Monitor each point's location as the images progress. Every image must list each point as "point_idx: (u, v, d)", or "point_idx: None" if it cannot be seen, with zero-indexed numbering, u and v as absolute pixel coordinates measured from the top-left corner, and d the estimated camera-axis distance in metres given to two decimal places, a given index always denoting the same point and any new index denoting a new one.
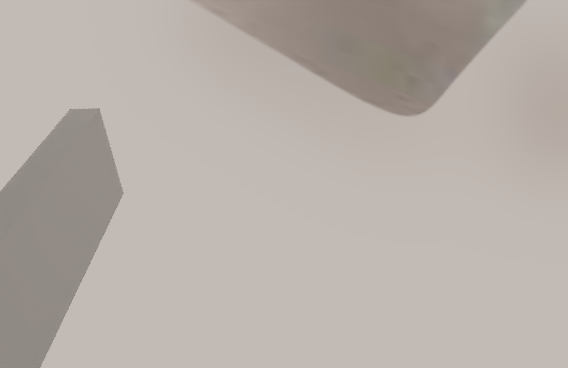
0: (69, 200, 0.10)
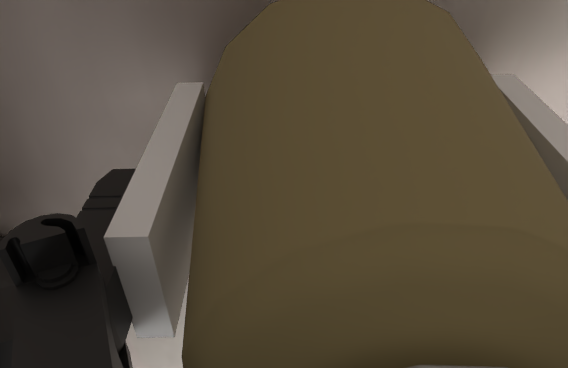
0: (192, 160, 0.11)
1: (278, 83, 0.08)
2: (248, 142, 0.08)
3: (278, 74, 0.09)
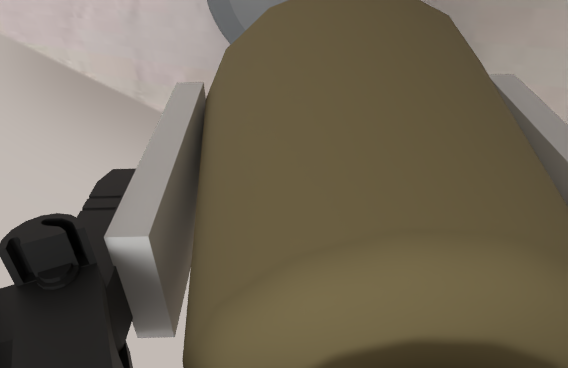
0: (192, 160, 0.11)
1: (278, 86, 0.08)
2: (249, 146, 0.08)
3: (278, 78, 0.09)
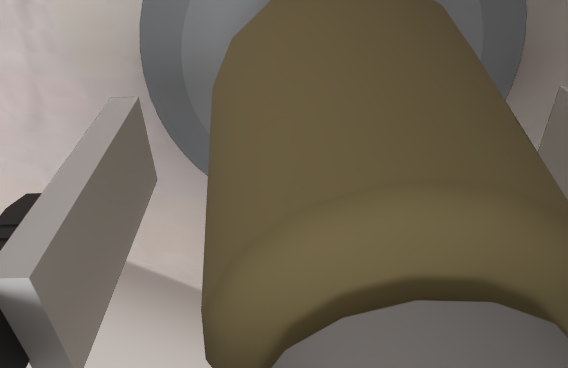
0: (116, 182, 0.11)
1: (285, 66, 0.09)
2: (258, 121, 0.08)
3: (283, 60, 0.09)
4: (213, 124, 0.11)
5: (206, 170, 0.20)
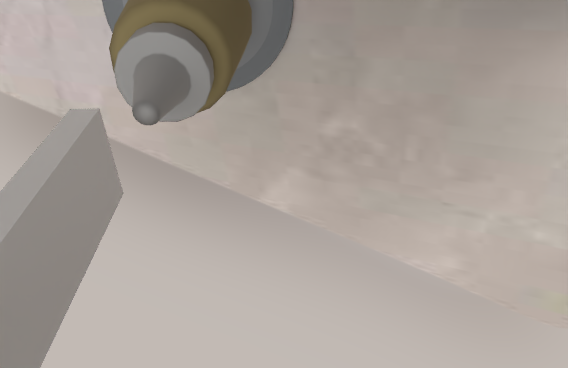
0: (69, 200, 0.10)
1: None
2: None
3: None
4: None
5: None
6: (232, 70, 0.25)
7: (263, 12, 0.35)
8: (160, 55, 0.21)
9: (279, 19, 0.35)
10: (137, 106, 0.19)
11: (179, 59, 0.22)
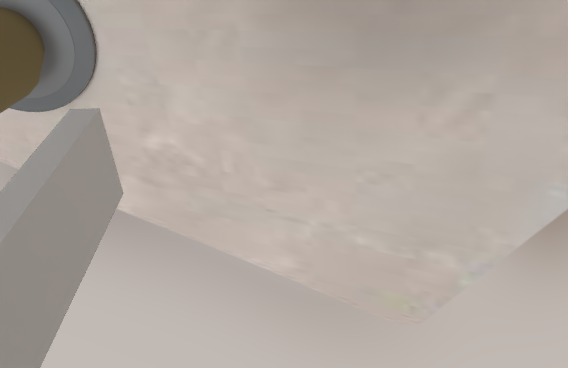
0: (69, 200, 0.10)
1: None
2: None
3: None
4: None
5: None
6: None
7: (66, 46, 0.41)
8: None
9: (81, 52, 0.41)
10: None
11: None
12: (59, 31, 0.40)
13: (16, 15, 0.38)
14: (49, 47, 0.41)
